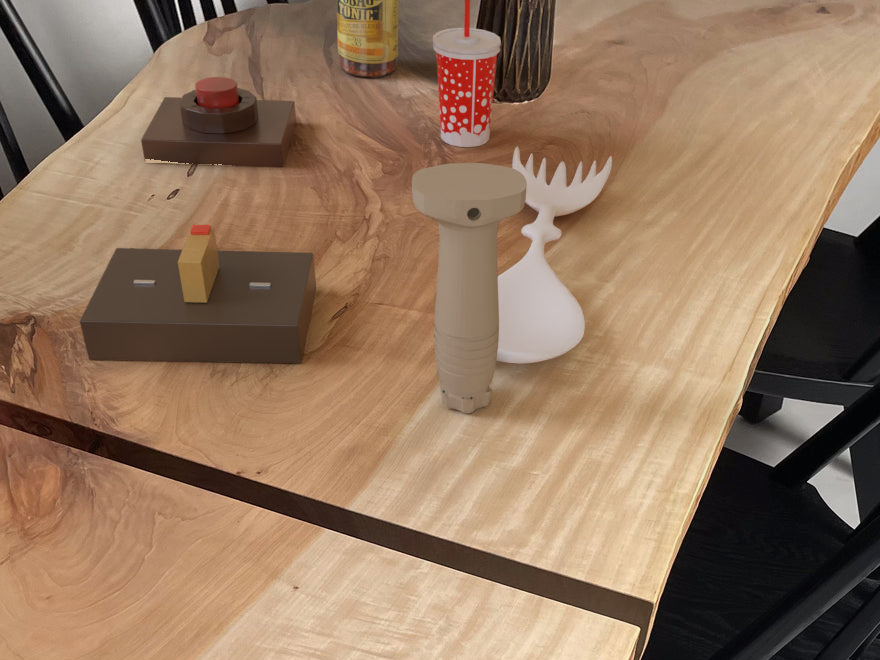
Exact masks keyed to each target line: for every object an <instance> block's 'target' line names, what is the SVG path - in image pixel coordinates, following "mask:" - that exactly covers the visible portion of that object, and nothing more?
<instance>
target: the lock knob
mask: <svg viewBox="0 0 880 660" xmlns="http://www.w3.org/2000/svg"><path fill="white" fill-rule="evenodd" d="M216 239H217V238H216V232H215V227H214V226H212V225H211V224H192V226H191V229H190V231H189V233H188V235H187V238H186V240H185V243H184V245H183V247H182V249H181V250H182V253H181V255H180V258H179V260H178V267H179V272H180V278H181V284H182V290H183V296H184V301H185V302H201V303H207V301H208V298H209V295H210V292H211V290H212V287H213V284H214V281H215V278H216V275H217V272H218V269H219V259H218V252H217V250H218V247H217V245H218V244H217V240H216Z"/></svg>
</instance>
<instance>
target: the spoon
mask: <svg viewBox="0 0 880 660" xmlns="http://www.w3.org/2000/svg"><path fill="white" fill-rule="evenodd" d="M612 167H613V157H612V155H610V156H609V157H608V158H607V161H606V162H605V164H604V166H603V168H602V170H600V172H598V173H597V160H596V159H594V160H593V162H592V164H591V167H590V169H589V172H588V174H587V175H586V177H585V179H584V180H583V161H582V160H581V161H580V162H579V163H578V166H577V169H576V170H575V174H574V177H573V179H572V181H571V183H570V184H569V185H568V184H567V182H568V181H567V167H566V163H565V161H563V160H562V161H560V163H559V164H558V165H557V167H556V170H555V172H554V174H553V176H552V178H551V180H550V183H549V184H548V183H547V158H546V157H543V159H542V161H541V164H540V166H539V169H538V172H537V175H536V176H535V174H534V155H533V152H531V153H530V155H529V157H528V159H527V162H526V164H525V166H524V165H523V164H522V162H521V152H520V147H519V146H518V145H517V146H515V148H514V151H513V155H512V163H511V168H513V169H515V170H517V171H519V172H520V173H521V174H522V175H523V176H524V177H525V179H526V183H527V187H526V200H525V204H526V205H527V206H528V207H530V208H532V210H534V211H535V212H537V213H538V214H537V217H536V219H535V220H534V221H533V222H531V223H528V224H525V225H524V226H522V228H521V230H520V232H521V234H522V236H524V237H525V238H527V239H529V240H530V241H532V242H531V244H530V247H529V249H528V250H527V251H526V253H525V255H523V257H522V258H521V259H520V260H518V262H516V263H515V264H513V265H512V266H511V267H509V268H508V269H506V270H505V271H504V272H502V273H501V274H499V275H498V304H499V341H498V351H497V359H496V362H501V363H507V364H508V363H509V364H532V363H533V364H534V363H539V362H543V361H546V360H547V361H548V360H551V359H554V358H558V357H560V356H563V355H564V354H566V353H568V352H569V351H571V350H572V349H574V347H576V346H577V345H578V344H579V343H580V342H581V341H582V340H583V337H584V334H585V330H586V329H585V328H586V322H585V317H584V311H583V309H582V306H581V305H580V303H579V301H578V300H577V299H576V296H574V295H573V294H572V292H571V291H570V290H569V289H568V287H567V286H566V285H565V284H564V283H563V281H562V279H560V277H558V275H557V274H556V272H555V271H554V269H552V266H551V265H550V264H549V262H548V260H547V258H546V255H545V254H546V253H545V245H546V244H547V243H549V242H553V241H557V240H559V239H560V238H561V237H562V234H563V233H562V230H561V228H558V226H555V225H554V219H555V217H561V216H566V215H569V214H572V213H575V212H577V211H579V210H581V209H583V208H585V207H587V206H588V205H590V204H591V203H592V202H594V200H595V199H596V198H597V197H598V196H599V195H600V193H601V191H602V189H603V188H604V186H605V184H606V183H607V181H608V179H609V177H610V175H611V173H612V172H611V171H612ZM567 185H568V186H567Z"/></svg>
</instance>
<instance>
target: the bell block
mask: <svg viewBox="0 0 880 660" xmlns="http://www.w3.org/2000/svg"><path fill="white" fill-rule="evenodd" d="M237 88H238V96H239V104H237V105H235V106H233V107H228V108H222V109H217V108H205V107H201V106H198V102H197V95H196V89H194V90H190V91H189V92H187V93H184V94H183V95H182V97H179V96H178V97H177V96H175V97H173V96H165V97H164V98H163V99H162V101H161V103H160V105H159V107H158V109H157V110H156V112H155V114H154V116H153V117H152V119H151V121H150V123H149V125H148V127H147V128H146V130H145V131H144V134H143V135H142V137H141V139H140V142H141V148H142V154H143V158H144V160H145V159H150V160H151V159H154V160H161V161H168V162H169V161H170V162H178V163H185V164H186V163H189V164H192V163H193V164H212V165H211V166H215V165H214V164H217V165H218V164H222V165H232V166H231V167H251V168H253V167H254V168H255V167H257V168H284V167H285V163H286V160H287V156H288V153H289V150H290V146H291V143H292V139H293V136H294V133H295V129H296V126H297V116H296V114H297V113H296V102H295V101H294V100H271V99H270V100H268V99H267V100H266V99H257V96H256V95H254V94H253V93H252V92H251V90H247V89H245V88H244V89H243V88H239V87H237ZM234 165H235V166H234Z"/></svg>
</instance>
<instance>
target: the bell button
mask: <svg viewBox="0 0 880 660" xmlns="http://www.w3.org/2000/svg"><path fill="white" fill-rule="evenodd" d="M194 87H195V90H196V95H197V102H198V106H201V107H205V108H217V109H222V108H228V107H233V106H235V105H237V104H239V96H238V88H239V87H238V83H237V80H234V79H232V78H229V77H226V76H225V77H224V76H211V77H205V78H202V79H200V80H197V81H196V82H195V86H194Z"/></svg>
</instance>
